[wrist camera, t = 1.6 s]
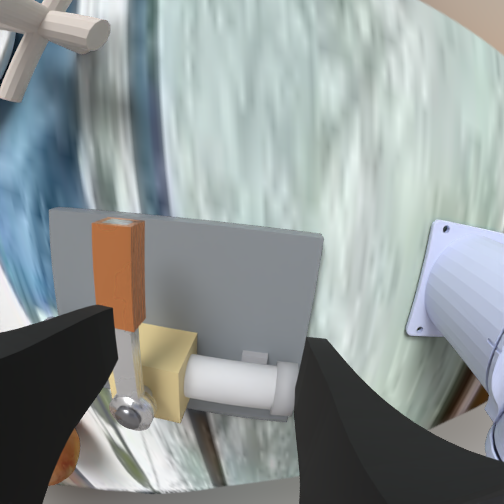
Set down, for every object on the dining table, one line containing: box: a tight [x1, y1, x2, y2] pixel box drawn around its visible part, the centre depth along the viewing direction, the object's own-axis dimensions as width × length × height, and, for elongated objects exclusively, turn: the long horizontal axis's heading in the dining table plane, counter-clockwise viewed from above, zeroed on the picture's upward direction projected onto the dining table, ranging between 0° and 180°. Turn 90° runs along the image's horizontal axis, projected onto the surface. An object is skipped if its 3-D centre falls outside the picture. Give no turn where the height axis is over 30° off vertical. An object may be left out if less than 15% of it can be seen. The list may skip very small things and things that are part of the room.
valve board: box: [44, 207, 324, 423], centre depth 18 cm, size 18×14×6 cm
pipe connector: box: [0, 0, 110, 102], centre depth 12 cm, size 10×10×10 cm
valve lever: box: [92, 217, 157, 431], centre depth 13 cm, size 11×2×2 cm, turn 174°
